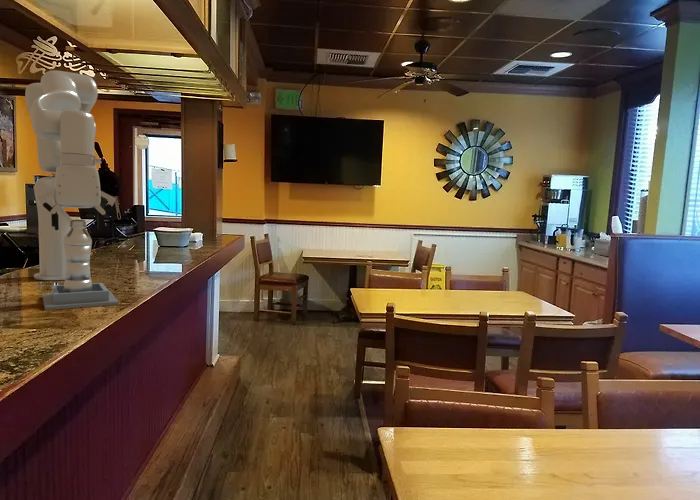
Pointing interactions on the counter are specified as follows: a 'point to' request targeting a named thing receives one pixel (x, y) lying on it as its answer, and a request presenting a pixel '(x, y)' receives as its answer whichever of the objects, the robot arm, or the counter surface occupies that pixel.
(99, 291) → the blue-grey square tray
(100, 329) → the counter surface
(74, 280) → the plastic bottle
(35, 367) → the counter surface
